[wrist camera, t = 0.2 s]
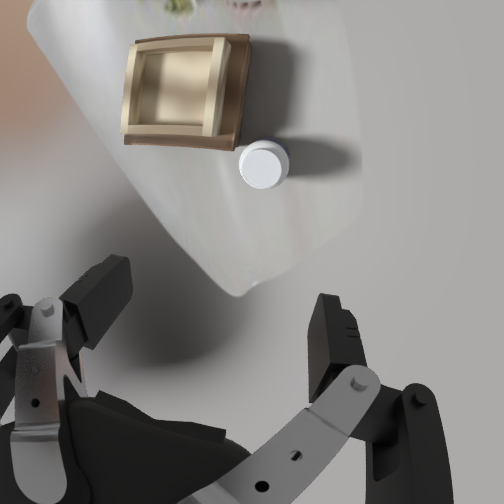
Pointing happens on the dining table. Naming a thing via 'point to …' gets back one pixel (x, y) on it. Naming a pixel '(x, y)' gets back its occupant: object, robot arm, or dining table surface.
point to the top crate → (175, 87)
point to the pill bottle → (264, 163)
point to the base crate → (231, 104)
